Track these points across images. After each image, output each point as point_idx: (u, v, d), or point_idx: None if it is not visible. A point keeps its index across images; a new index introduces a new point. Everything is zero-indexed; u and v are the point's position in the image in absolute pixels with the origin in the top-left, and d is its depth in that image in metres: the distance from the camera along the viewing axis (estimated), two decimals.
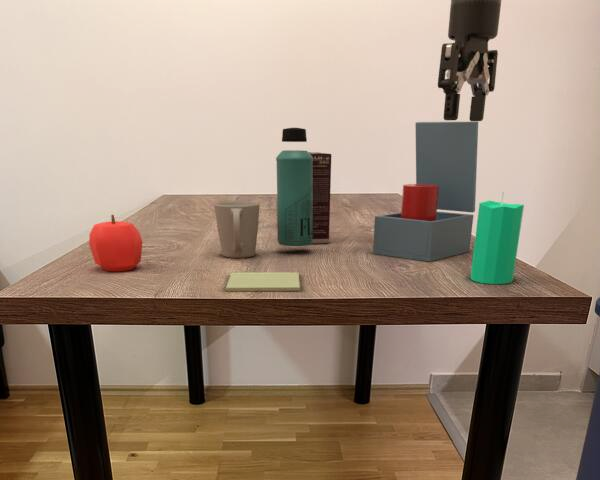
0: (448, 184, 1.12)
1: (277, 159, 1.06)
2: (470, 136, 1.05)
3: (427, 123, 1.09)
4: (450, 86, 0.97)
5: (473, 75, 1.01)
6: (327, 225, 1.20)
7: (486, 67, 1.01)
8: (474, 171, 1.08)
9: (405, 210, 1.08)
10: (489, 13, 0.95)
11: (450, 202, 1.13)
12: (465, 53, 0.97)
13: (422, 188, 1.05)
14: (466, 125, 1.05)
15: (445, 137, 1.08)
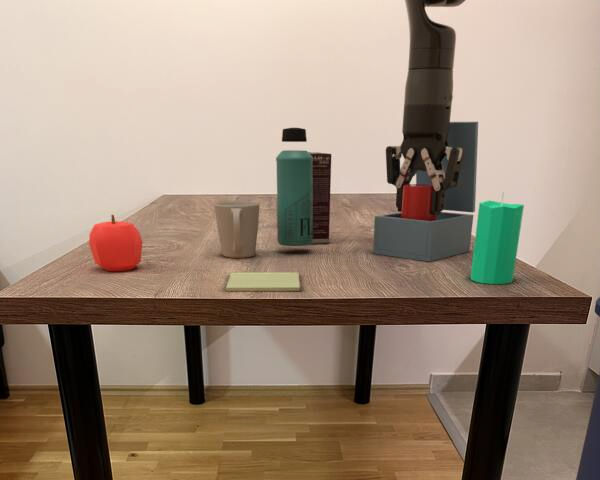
0: None
1: (277, 159, 1.06)
2: (470, 136, 1.05)
3: None
4: (389, 183, 1.10)
5: (418, 169, 1.06)
6: (327, 225, 1.20)
7: (428, 162, 1.03)
8: (474, 171, 1.08)
9: (405, 210, 1.07)
10: (406, 115, 1.01)
11: (450, 202, 1.13)
12: (402, 150, 1.06)
13: (422, 188, 1.05)
14: (466, 125, 1.05)
15: None
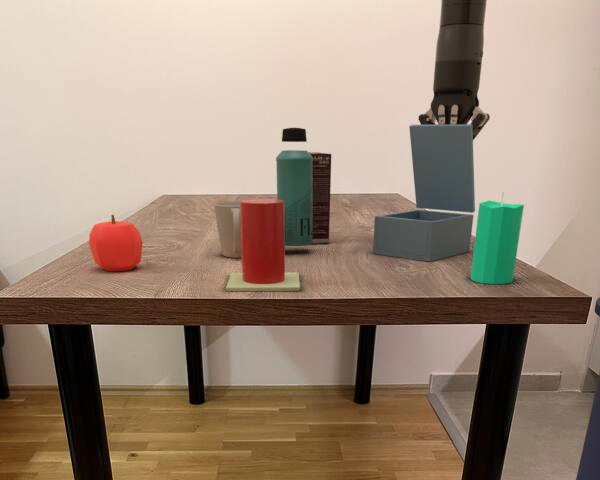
0: (446, 185, 1.12)
1: (277, 159, 1.06)
2: (465, 139, 1.04)
3: (421, 126, 1.08)
4: None
5: None
6: (327, 225, 1.20)
7: (454, 120, 1.06)
8: (471, 173, 1.07)
9: (243, 232, 0.86)
10: (438, 72, 1.04)
11: (450, 202, 1.13)
12: (432, 108, 1.09)
13: (259, 205, 0.83)
14: (460, 128, 1.04)
15: (440, 140, 1.07)
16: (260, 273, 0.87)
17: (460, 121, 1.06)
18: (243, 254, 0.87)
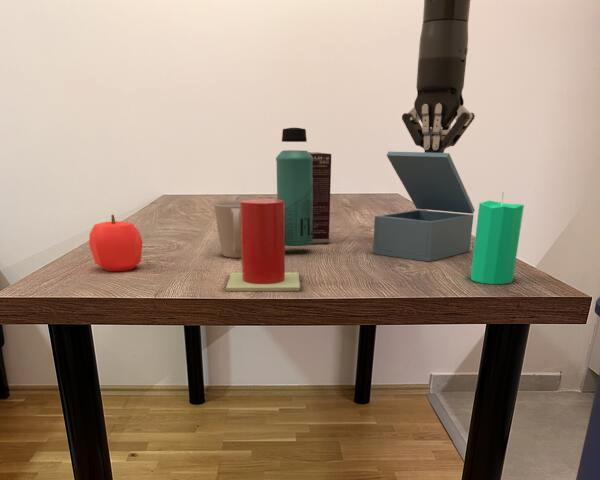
0: (440, 195, 1.11)
1: (277, 159, 1.06)
2: (446, 166, 1.02)
3: (398, 155, 1.06)
4: (418, 145, 1.08)
5: (432, 125, 1.05)
6: (327, 225, 1.20)
7: (438, 119, 1.03)
8: (461, 187, 1.06)
9: (243, 232, 0.86)
10: (421, 69, 1.01)
11: (448, 206, 1.13)
12: (416, 106, 1.05)
13: (259, 205, 0.83)
14: (438, 158, 1.02)
15: (421, 165, 1.05)
16: (260, 273, 0.87)
17: (444, 120, 1.03)
18: (243, 254, 0.87)
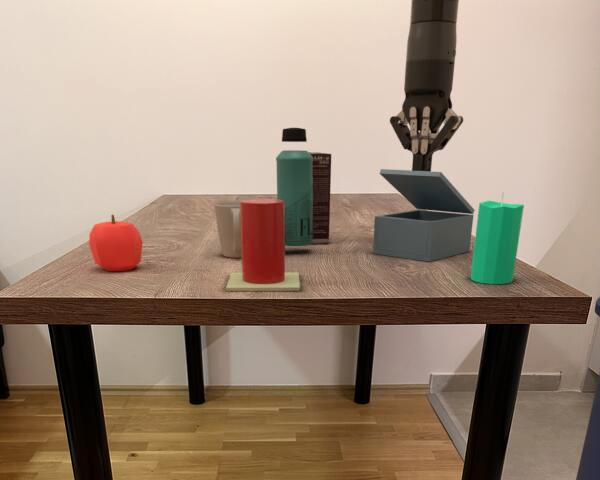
0: (438, 201, 1.11)
1: (277, 159, 1.06)
2: (439, 182, 1.02)
3: (391, 174, 1.06)
4: None
5: (420, 128, 1.03)
6: (327, 225, 1.20)
7: (426, 122, 1.01)
8: (458, 196, 1.06)
9: (243, 232, 0.86)
10: (408, 72, 0.98)
11: (447, 208, 1.13)
12: (404, 109, 1.03)
13: (259, 205, 0.83)
14: (430, 177, 1.02)
15: (415, 181, 1.05)
16: (260, 273, 0.87)
17: (432, 124, 1.01)
18: (243, 254, 0.87)
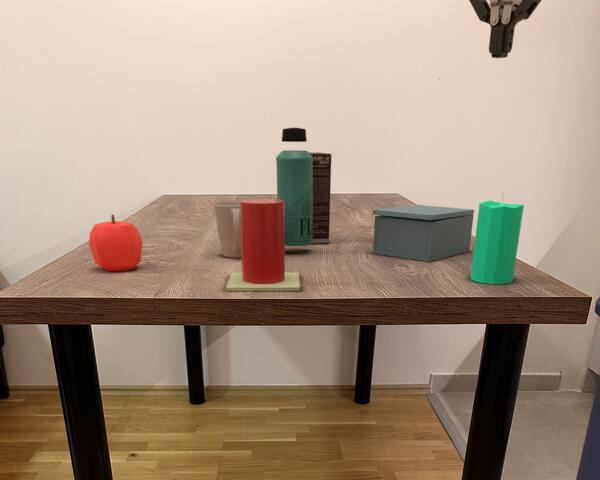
0: None
1: (277, 159, 1.06)
2: None
3: (384, 215, 1.08)
4: (483, 21, 0.89)
5: None
6: (327, 225, 1.20)
7: None
8: (454, 216, 1.07)
9: (243, 232, 0.86)
10: None
11: None
12: None
13: (259, 205, 0.83)
14: None
15: None
16: (260, 273, 0.87)
17: None
18: (243, 254, 0.87)
